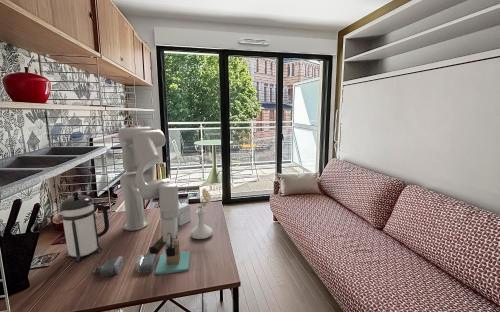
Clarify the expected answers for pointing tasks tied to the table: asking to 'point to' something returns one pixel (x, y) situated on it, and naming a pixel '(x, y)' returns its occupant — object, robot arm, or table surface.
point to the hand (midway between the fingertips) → (172, 249)
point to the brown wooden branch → (156, 246)
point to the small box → (184, 214)
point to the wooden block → (175, 258)
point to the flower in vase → (202, 229)
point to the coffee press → (81, 225)
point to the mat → (180, 267)
